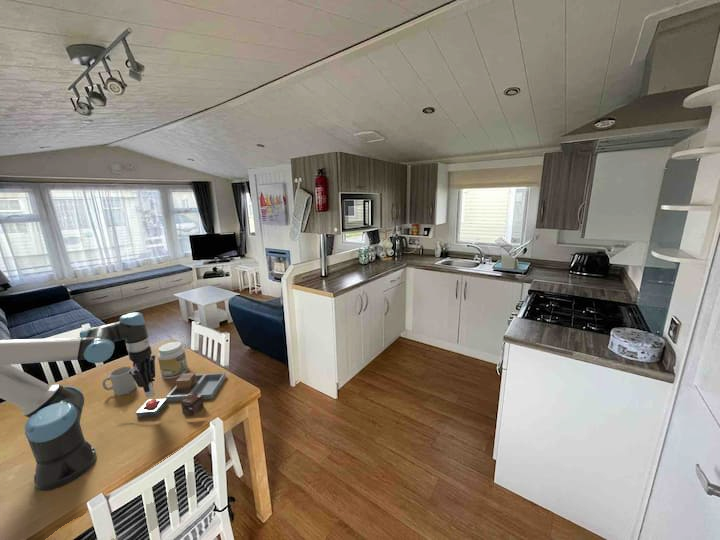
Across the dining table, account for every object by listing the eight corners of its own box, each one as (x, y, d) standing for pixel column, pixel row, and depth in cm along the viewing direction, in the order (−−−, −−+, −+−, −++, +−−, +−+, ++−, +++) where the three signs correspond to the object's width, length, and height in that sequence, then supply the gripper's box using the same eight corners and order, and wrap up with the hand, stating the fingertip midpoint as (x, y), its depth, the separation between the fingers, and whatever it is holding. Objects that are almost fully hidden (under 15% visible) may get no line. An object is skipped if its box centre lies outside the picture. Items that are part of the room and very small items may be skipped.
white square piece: (157, 418, 120) (155, 411, 120) (137, 420, 120) (136, 412, 119) (168, 405, 128) (166, 398, 127) (150, 407, 128) (148, 399, 127)
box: (182, 415, 123) (180, 401, 121) (194, 406, 128) (191, 392, 126) (193, 418, 121) (190, 404, 119) (204, 408, 126) (202, 394, 125)
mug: (137, 382, 145) (133, 364, 143) (135, 391, 138) (130, 372, 136) (107, 391, 139) (102, 371, 136) (103, 400, 132) (98, 380, 129)
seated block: (191, 392, 135) (188, 380, 134) (178, 393, 135) (175, 381, 133) (197, 384, 141) (195, 372, 139) (184, 385, 141) (182, 373, 139)
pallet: (212, 401, 131) (211, 394, 130) (166, 403, 130) (165, 397, 129) (226, 378, 148) (225, 372, 147) (186, 381, 146) (184, 375, 145)
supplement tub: (185, 377, 149) (180, 349, 145) (159, 382, 145) (153, 354, 141) (190, 365, 160) (185, 339, 156) (165, 370, 156) (159, 343, 152)
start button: (154, 412, 122) (153, 405, 121) (145, 413, 122) (143, 405, 121) (160, 406, 126) (158, 398, 125) (151, 407, 125) (149, 399, 125)
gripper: (137, 356, 110) (149, 406, 116) (158, 340, 123) (168, 386, 129) (117, 357, 110) (131, 407, 116) (140, 341, 122) (151, 387, 128)
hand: (150, 396), depth 122 cm, fingers closed
